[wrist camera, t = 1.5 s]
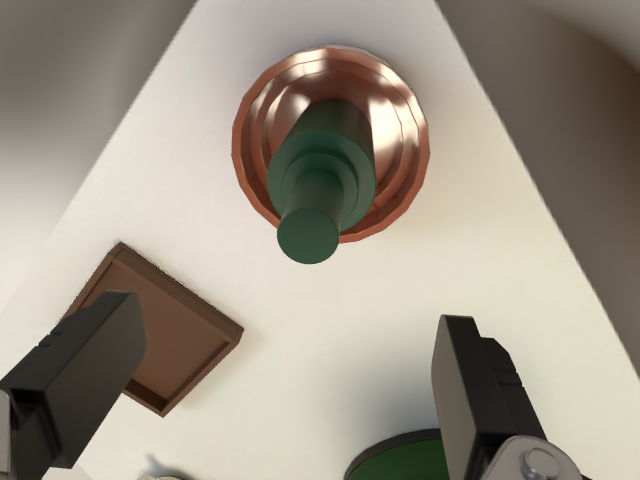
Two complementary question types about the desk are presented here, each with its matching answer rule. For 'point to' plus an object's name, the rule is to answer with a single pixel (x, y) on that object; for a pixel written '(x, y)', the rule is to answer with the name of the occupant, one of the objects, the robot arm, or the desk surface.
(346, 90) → the bowl
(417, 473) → the desk lamp
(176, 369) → the tray
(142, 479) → the teacup
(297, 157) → the bottle
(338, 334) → the desk surface
